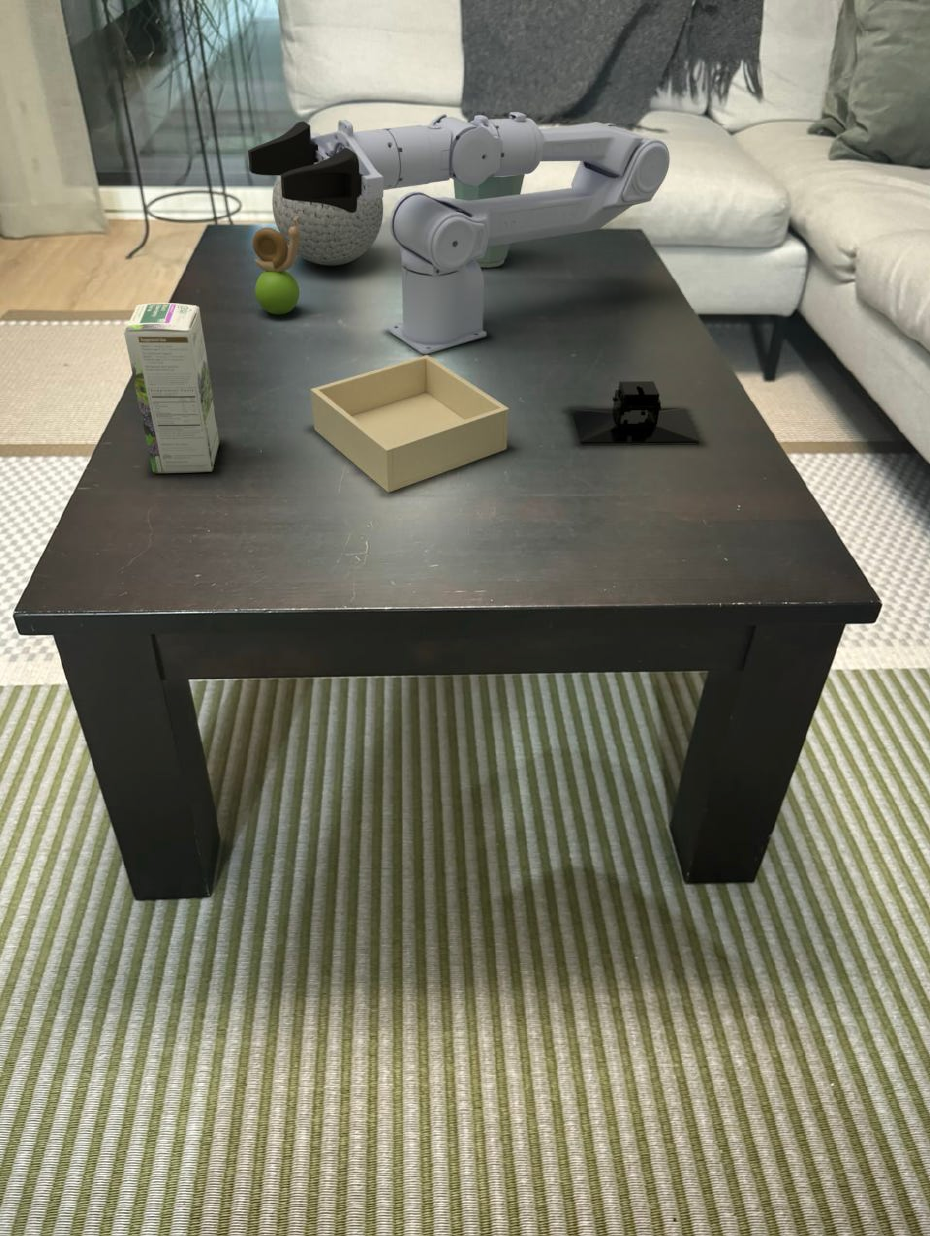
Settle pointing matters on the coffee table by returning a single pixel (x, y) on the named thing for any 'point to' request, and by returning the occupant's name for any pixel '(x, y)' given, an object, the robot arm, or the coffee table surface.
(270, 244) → the snail figurine
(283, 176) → the robot arm
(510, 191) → the disposable coffee cup
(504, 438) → the tray
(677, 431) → the build plate
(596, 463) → the coffee table surface
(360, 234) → the decorative ball
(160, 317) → the syrup box
